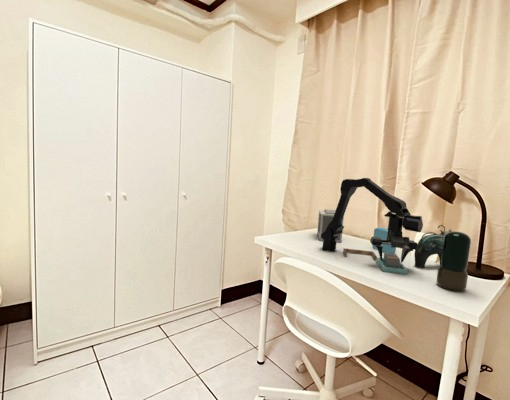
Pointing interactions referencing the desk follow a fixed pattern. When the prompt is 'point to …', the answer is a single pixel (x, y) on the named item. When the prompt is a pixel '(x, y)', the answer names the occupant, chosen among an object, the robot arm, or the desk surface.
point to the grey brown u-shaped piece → (359, 252)
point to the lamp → (454, 261)
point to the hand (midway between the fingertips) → (391, 261)
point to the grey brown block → (391, 260)
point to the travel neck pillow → (429, 247)
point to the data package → (383, 235)
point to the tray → (389, 269)
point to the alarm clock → (326, 223)
